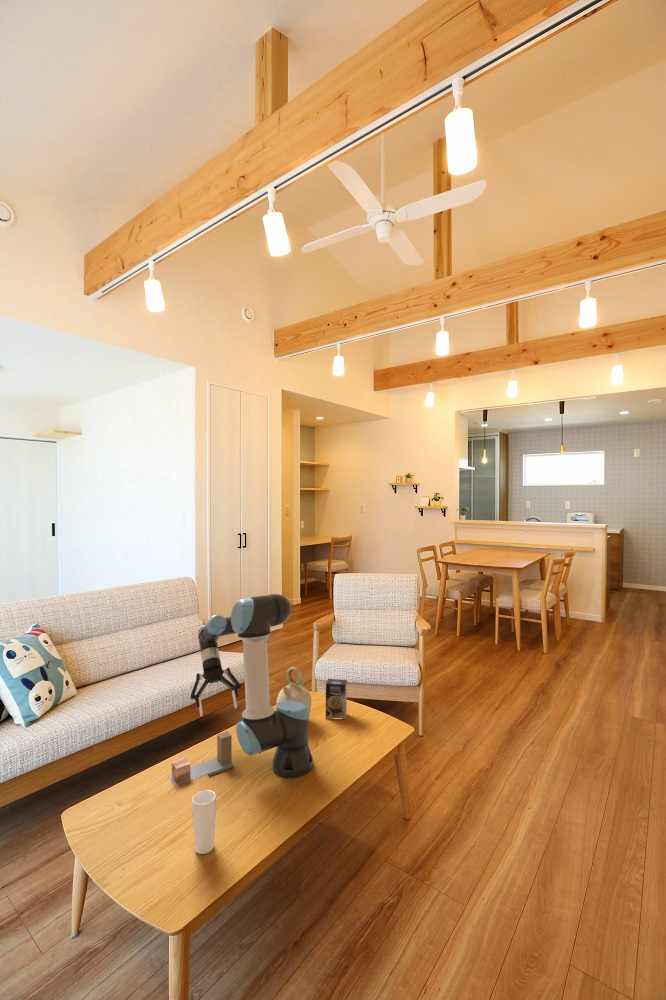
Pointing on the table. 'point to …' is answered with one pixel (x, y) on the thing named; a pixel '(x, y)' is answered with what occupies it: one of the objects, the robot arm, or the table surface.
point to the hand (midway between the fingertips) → (219, 711)
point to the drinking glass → (204, 820)
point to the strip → (213, 760)
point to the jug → (295, 690)
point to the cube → (181, 769)
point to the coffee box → (336, 698)
